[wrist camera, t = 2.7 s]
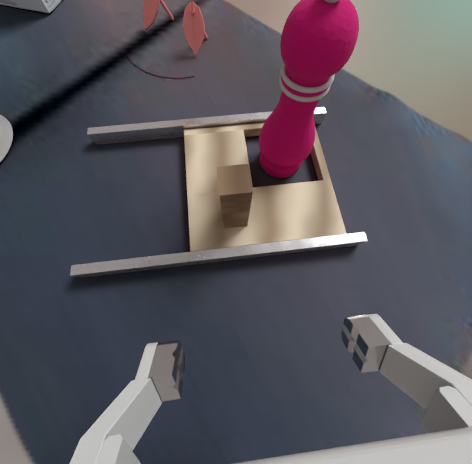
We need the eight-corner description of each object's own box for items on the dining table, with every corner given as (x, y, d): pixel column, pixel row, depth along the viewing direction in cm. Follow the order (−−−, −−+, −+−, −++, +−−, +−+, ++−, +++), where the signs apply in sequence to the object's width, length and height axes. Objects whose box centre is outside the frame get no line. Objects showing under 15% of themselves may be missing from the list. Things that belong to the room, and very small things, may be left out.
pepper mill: (299, 186, 31) (398, 8, 12) (251, 175, 32) (275, -10, 13) (306, 146, 34) (398, -56, 15) (261, 137, 34) (294, -70, 15)
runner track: (83, 277, 27) (70, 275, 25) (97, 138, 34) (88, 127, 32) (357, 245, 29) (367, 241, 27) (319, 118, 35) (324, 106, 33)
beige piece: (192, 254, 28) (169, 227, 18) (185, 137, 34) (165, 68, 24) (340, 236, 29) (396, 202, 19) (309, 125, 35) (339, 54, 25)
